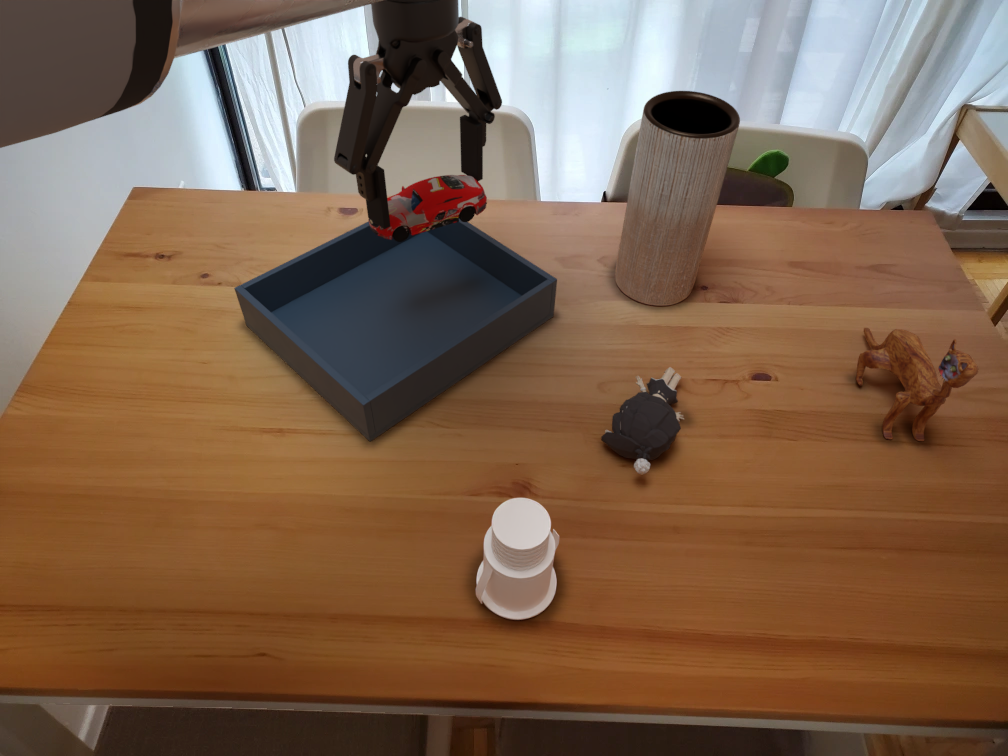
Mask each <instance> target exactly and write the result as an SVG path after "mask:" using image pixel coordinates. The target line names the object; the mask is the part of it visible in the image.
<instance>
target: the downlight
mask: <svg viewBox="0 0 1008 756" xmlns="http://www.w3.org/2000/svg"><path fill="white" fill-rule="evenodd" d="M551 527H552V519H551V517H550V514H549V512H548V511H547V510H546V508H545V507H544V506H543V505H542V504H541V503H539V502H538V501H536V500H534V499H532V498H527V497H514V498H509V499H507V500H505V501H503V502H502V503H501V504H500V505H498V506H497V508H496V509H495V510H494V512H493V515H492V517H491V525H490V527H489V528H488V529H487V531H486V533H485V534H484V539H483V560H482V561H481V563H480V565H479V567H478V569H477V573H476V580H475V581H476V587H475V596H476V598H477V600H478V601H479V602H480V604H481V605H482V604H483V605H484V606H485V607H486V608H487V609H488V610H489V611H491V612H492V613H493V614H495V615H497V616H499V617H501V618H505V619H507V620H514V621H520V620H521V621H522V620H527V619H530V618H534V617H536V616H538V615H540V614H541V613H543V611H545V610H546V609H547V608H548V607H549V606H550V604H551V603H552V602H553V599H554V597H555V595H556V592H557V584H558V583H557V581H558V580H557V579H558V578H557V574H556V571H555V568H554V560H555V553H556V551H557V548H558V547H559V544H560V538H561V537H560V535H559V534H558V533H557V531H556V530H555V528H553V529H551ZM551 530H552V531H551Z"/></svg>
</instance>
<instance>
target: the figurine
mask: <svg viewBox="0 0 1008 756" xmlns="http://www.w3.org/2000/svg"><path fill="white" fill-rule="evenodd" d="M634 378H635V379H636V381H635V382H634V383H635V384H636V385H637V386H638V387H639V388H640V389H639V390H640V392H637V393H636V394H635V395H633V396H632V397H630V398H627V399H625V400H624V402H623V403H622V404H621V405H620V406H619V411H617V412H615V413H613V415H612V419H611V422H612V423H611V430H612V431H611V430H608V429H605V430H604V434H602V436H601V437H600V439H601V441H602V442H603V443H604V444H605V445H606V446H607V447H609V448H610V449H611V450H612V451H614V453H616V454H618V455H619V456H620V457H623V458H625V459H631V460H636V461H634V463H633V468H634V470H635V472H636V473H637V474H640V476H641V475H645V474H647V473H648V472H649V471H650V470H651V469H650V468H651V463H650V462H649V461H653V460H656V459H658V458H659V457H660V456H661V454H663V453H665V452H667V451H668V450H669V449H670V448H671V445H672V443H674V442H675V440H676V438H677V434H678V433H679V432H680V431H681V429H682V428H681V424H680V421H681V420H683V421H684V420H685V418H684V415H685V414H681V413H682V412H681V411H678V412H676V411H675V409H674V408H673V407H672V405H674V404H677V403H678V402H679V400H678V398H677V396H678V391H677V389H676V388H677V386H678V385H679V382H680V381H681V379H682V376H681V375H680V374H679V373H678V372H676V370H675V369H674V368H672V367H671V366H669V367H668V368H666V369H665V371H664V372H663V375H662V376H661V377H660V378H657V379H656V378H654V377H650V379H649V382H647V383H646V387H647V388H646V387H645V384H644V381H643V378H642V377H640V376H639V375H637V376H636V375H635V377H634ZM647 390H648V391H647ZM680 419H681V420H680Z"/></svg>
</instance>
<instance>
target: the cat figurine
mask: <svg viewBox="0 0 1008 756" xmlns="http://www.w3.org/2000/svg"><path fill="white" fill-rule="evenodd" d="M863 334H864V337H865V339H866V342H867V344H868V347H869V348H870V349H868V350H865V351H864V352H862V353H860V354H859V355H858V358H857V364H856V374H855V375H856V376H855V380H856V383H857V384H858V385H859V386H861V387H862V386H863V385H864V381H863V377H864V374H865V371H866V367H867V368H869V369H870V370H872V369H874V370H875V369H884V370H887V371H888V372H891V373H892V374H894V376H896V378H897V379H898V380H899V381H900V383H901V385H902V386H903V389H904V391H898V392H896V394H895V400H894V403H893V405H892V406H891V408H890V409H889V410H888V411H887V413H886V414H885V416H884V418H883V421H882V426H881V429H882V436H883V438H884V439H886V440H893V439H894V437H893V431H892V430H893V426H894V423H895V421H896V418H897V417H898V416H899V415H900V414H901V413H903V412H904V410H905V408H906V407H907V406H908V405H909V404H912V405H916V406H918V407H919V406H920V407H923V408H922V409H921V410H919V412H918V413H917V415H916V417H915V418H914V420H913V422H912V426H911V431H912V433H911V434H912V436H913V439H914V440H915V441H917V442H924V441H925V428H926V425H927V422H928V421H929V420H930V418H931V417H933V416H934V415H935V414H936V413H937V411H938V410H939V409H940V407H942V405H944V404H945V403H946V402H947V398H949V397H950V395H951V393H952V389H959V388H961V387H964V386H965V385H967V384H968V383H969V382H970V381H971V380H972V379H974V377H975V376H977V375H978V373H979V371H980V369H979V366H978V364H977V362H976V361H975V359H974V358H973V356H972V355H970V354H968V353H966V352H964V351H961V350H959V349H957V339H956V338H954V339H953V340H952V342H951V343H950V346H949V348H948V351H947V353H946V354H945V355H944V356H943V358H942V359H941V361H940V363H939V365H938V368H937V370H938V373H939V374H940V375H939V377H942V378H941V380H943V381H942V385H941V383H940V381H939V379H938V378H939V377H938V375H937V371H936V369H935V366H934V363H933V362H932V360H931V357H930V356H929V354H928V353H927V350H926V349H925V348H924V346H923V342H922V341H921V338H920V336H919V335H917V334H915V333H913V332H912V331H909V330H906V329H900V328H895V329H892V331H891V332H889V334H888V335H887V336H886V338H885V339H884V341H882V343H881V344H879V343H878V342H877V341H876V339H875V337H874V335H873V332H872V331H871V329H870V328H868V327H863Z"/></svg>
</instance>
